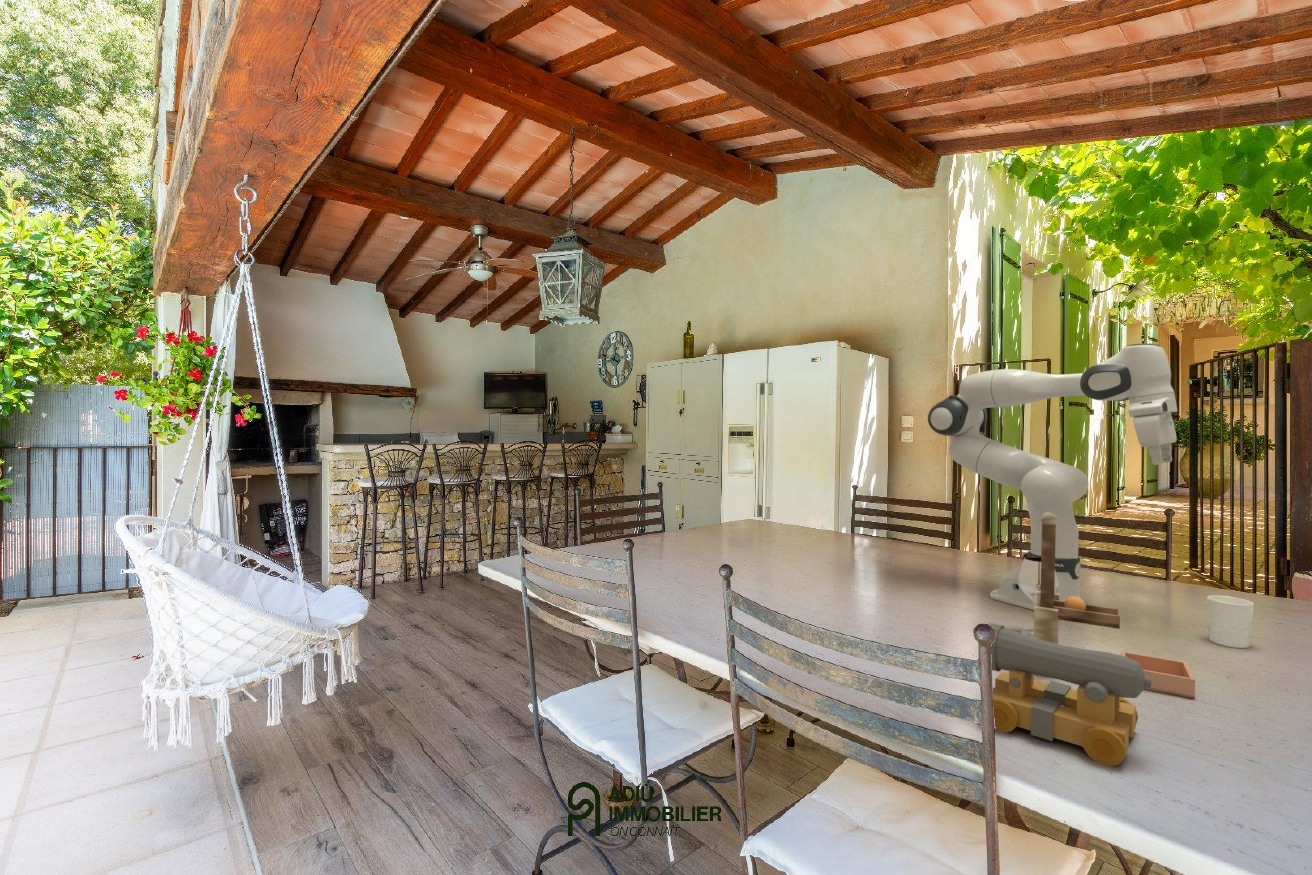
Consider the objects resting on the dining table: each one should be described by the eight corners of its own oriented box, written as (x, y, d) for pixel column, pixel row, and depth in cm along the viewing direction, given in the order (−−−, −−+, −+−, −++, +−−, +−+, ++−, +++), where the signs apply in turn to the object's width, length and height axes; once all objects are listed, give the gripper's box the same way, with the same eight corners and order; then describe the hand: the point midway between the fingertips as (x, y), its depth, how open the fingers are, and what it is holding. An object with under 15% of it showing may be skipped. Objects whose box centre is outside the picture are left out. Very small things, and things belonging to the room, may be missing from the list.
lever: (1037, 620, 124) (1039, 515, 124) (1039, 606, 134) (1041, 508, 134) (1120, 633, 117) (1123, 521, 117) (1116, 618, 127) (1119, 514, 126)
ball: (1061, 613, 126) (1061, 596, 126) (1068, 610, 128) (1068, 593, 128) (1081, 617, 123) (1082, 600, 123) (1088, 614, 125) (1088, 597, 125)
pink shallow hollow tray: (1124, 685, 117) (1124, 667, 117) (1120, 668, 126) (1121, 651, 126) (1194, 698, 112) (1195, 679, 112) (1185, 679, 120) (1186, 662, 120)
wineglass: (1054, 632, 147) (1055, 557, 147) (1060, 643, 140) (1061, 564, 140) (1014, 627, 151) (1016, 554, 150) (1018, 637, 143) (1020, 561, 143)
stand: (1018, 670, 124) (1019, 606, 124) (1023, 645, 138) (1024, 588, 138) (1072, 680, 119) (1073, 614, 119) (1071, 654, 133) (1073, 594, 133)
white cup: (1262, 650, 136) (1263, 606, 136) (1220, 647, 138) (1222, 603, 138) (1236, 638, 144) (1237, 596, 144) (1197, 636, 146) (1198, 594, 145)
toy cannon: (1142, 778, 86) (1145, 672, 86) (972, 724, 102) (974, 634, 101) (1154, 736, 98) (1157, 643, 98) (1000, 693, 113) (1002, 613, 113)
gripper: (1147, 409, 160) (1156, 462, 159) (1126, 409, 147) (1136, 467, 146) (1178, 405, 155) (1188, 459, 154) (1159, 405, 142) (1169, 464, 141)
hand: (1162, 463), depth 150 cm, fingers open, 8 cm apart
